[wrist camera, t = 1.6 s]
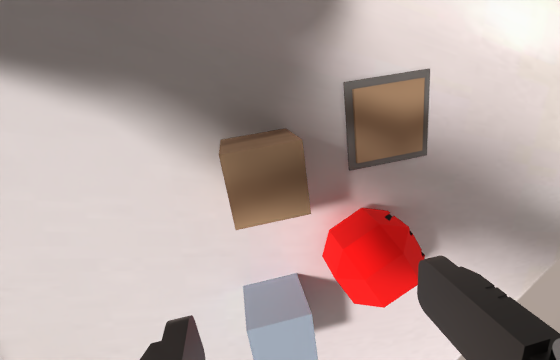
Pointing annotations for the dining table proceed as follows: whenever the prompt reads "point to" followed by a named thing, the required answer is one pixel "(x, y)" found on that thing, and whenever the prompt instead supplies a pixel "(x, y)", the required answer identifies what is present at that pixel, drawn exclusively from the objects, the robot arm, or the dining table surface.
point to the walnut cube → (265, 177)
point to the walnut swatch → (386, 118)
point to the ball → (373, 257)
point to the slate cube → (279, 320)
